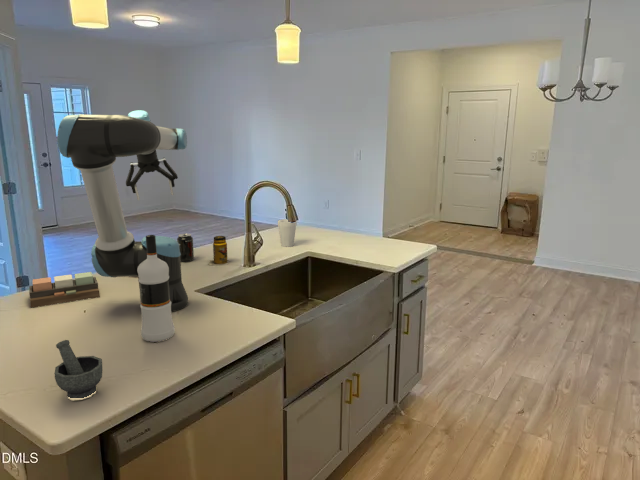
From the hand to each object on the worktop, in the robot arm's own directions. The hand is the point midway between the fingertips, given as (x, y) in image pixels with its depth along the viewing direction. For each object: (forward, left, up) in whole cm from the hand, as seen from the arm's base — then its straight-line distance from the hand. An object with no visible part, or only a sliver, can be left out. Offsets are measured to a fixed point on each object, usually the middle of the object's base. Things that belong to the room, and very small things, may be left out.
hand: (155, 196), depth 197 cm
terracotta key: (-38, +32, -27) cm, 56 cm away
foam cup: (+33, -56, -31) cm, 72 cm away
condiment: (+4, -24, -31) cm, 40 cm away
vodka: (-72, -14, -31) cm, 80 cm away
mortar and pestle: (-101, -3, -31) cm, 106 cm away
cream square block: (-35, +26, -27) cm, 51 cm away
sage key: (-32, +20, -27) cm, 46 cm away
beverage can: (+9, -9, -31) cm, 34 cm away
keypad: (-35, +26, -31) cm, 53 cm away
